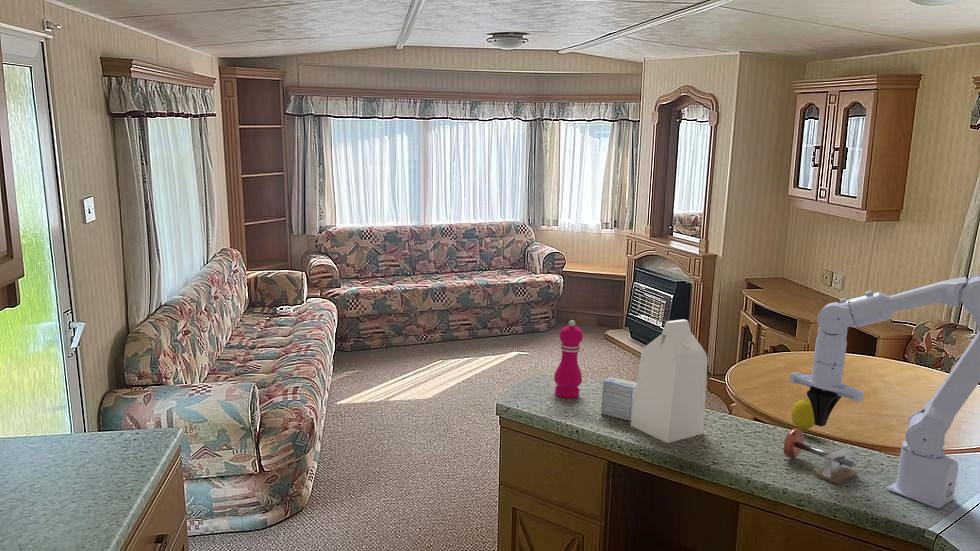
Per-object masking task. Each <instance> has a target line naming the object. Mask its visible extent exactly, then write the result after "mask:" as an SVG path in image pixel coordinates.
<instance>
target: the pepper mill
mask: <svg viewBox="0 0 980 551" xmlns="http://www.w3.org/2000/svg"><path fill="white" fill-rule="evenodd" d="M575 321H576V320H573V319H571V320H569V321H568V325H566V326H564V327H563V328H561V330H560V331H559V340H560V341H561V343H560V350H561V353H562V354H561V359H560V363H559V365H558V366H557V369H556V370H555V372H554V375H553V376H554V377H553V379H554V382H555V384H556V385H555V390H554V393H555V395H556V397H559V398H562V397H563V399H575V397H576V398H578V397H579V396H580V388H579V386H581V384H582V382H583V375H582V372H581V368H580V367H579V362H578V354H579V352H580V351H581V348H580V347H581V345H580V343H582V341H583V339H584V337H583V336H584V334H583V331H582V329H581V328H579V327H578V326H576V322H575Z"/></svg>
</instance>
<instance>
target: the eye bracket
mask: <svg viewBox="0 0 980 551" xmlns="http://www.w3.org/2000/svg"><path fill="white" fill-rule="evenodd" d="M852 454H853V449H852V448H848V447H846V446H845V447H842V448H840V449H838V450H835V451H833V452H831V453H830V454H828V455H826V456H825V458H824V461H823V467H822V468H820V469H818V470H816V471H814V474H813V476H814V477H816V478H820V479H822V480H825V481H827V482H831V483H833V484H835V485H837V486H840V485H841V484H843V483H846V482H847V481H849V480H851V479H853V478H856V477H857V476H858V473H859V472H858V471H857V470H854V469H851V467H849V466H846V465H843V464H841V463H840V457H842V458H844V459H847V460H850V461H852Z"/></svg>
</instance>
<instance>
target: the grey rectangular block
mask: <svg viewBox="0 0 980 551" xmlns="http://www.w3.org/2000/svg"><path fill="white" fill-rule="evenodd" d="M636 386H637V381H636V382H635V381H631V380H628V379H627V380H626V379H622V378H616V377H612V376H610V377H608V378H606V379H605V380H603V382H602V392H601V393H602V396H601V406H600V407H601V408H600V415H602V414H603V416H606V415H608V416H607V417H610V416H612V418H614V417H616V418H615V419H618V418H620V420H622V419H624V421H626V420H628V421H627V422H630V421H631V419H632V412H633V405H634V399H635V392H636Z"/></svg>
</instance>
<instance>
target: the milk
mask: <svg viewBox="0 0 980 551" xmlns="http://www.w3.org/2000/svg"><path fill="white" fill-rule="evenodd" d="M707 373H708V355H707V353H706V351H705V348H703V347H702V345H701V343H700V342H699V341H698V340H697V338H696V337H695V335H694V334H693V333H692V332H691V327H690V323H689V320H687V319H684V318H683V319H675V320H667V321H665V324H664V327H663V329H662V333H661V334H659V335H658V336H657V337H656V338H654V339H653V340H652V341H650V342H649V343H648V344H646V345H645V346H644V348H642V351H641V354H640V358H639V366H638V374H637V380H636V383H637V386H636V392H635V399H634V405H633V412H632V419H631V422H630V425H631V426H630V427H632V426H633V427H632V428H634V427H635V429H636V428H637V429H636V430H638V429H639V430H638V431H641V432H643V433H645V434H647V435H650V436H651V437H653V436H654V438H656V439H658V440H660V441H662V442H664V443H667V444H670V443H673V442H677V441H682V440H685V439H688V438H693V437H696V435H697V436H700V435H703V434H704V432H705V430H704V428H705V414H706V413H705V412H706V393H707V376H708V375H707ZM681 439H682V440H681Z"/></svg>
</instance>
